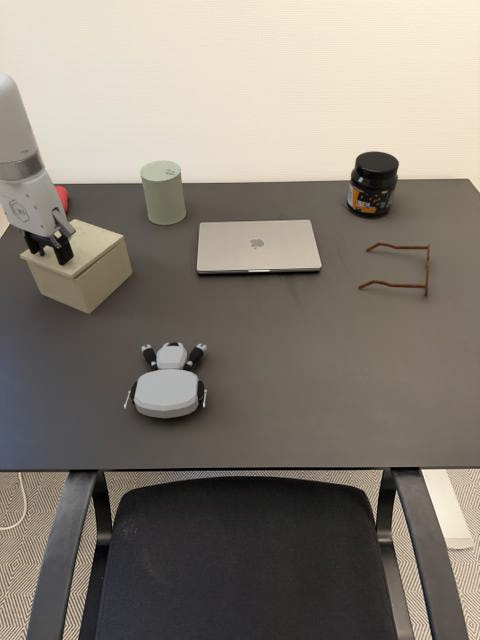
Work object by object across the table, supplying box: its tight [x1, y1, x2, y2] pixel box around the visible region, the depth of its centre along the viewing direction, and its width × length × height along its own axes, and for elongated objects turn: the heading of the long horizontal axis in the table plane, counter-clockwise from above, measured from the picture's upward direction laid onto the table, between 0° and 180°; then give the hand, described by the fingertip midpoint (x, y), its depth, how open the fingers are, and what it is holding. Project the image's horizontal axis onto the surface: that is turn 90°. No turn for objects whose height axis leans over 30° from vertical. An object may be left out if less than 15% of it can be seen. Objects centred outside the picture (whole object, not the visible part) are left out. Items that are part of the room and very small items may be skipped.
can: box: [139, 160, 187, 226], centre depth 108 cm, size 9×9×12 cm
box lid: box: [19, 218, 125, 279], centre depth 87 cm, size 14×13×6 cm
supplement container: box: [346, 150, 400, 219], centre depth 109 cm, size 10×10×12 cm
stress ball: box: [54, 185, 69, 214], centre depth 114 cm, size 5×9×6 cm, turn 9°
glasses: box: [358, 242, 431, 297], centre depth 94 cm, size 13×13×5 cm
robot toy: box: [123, 341, 208, 419], centre depth 76 cm, size 12×4×15 cm
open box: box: [25, 239, 133, 315], centre depth 93 cm, size 14×13×9 cm
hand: (52, 254), depth 85 cm, fingers closed on box lid, 6 cm apart
